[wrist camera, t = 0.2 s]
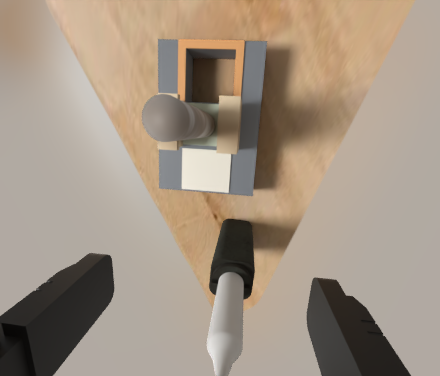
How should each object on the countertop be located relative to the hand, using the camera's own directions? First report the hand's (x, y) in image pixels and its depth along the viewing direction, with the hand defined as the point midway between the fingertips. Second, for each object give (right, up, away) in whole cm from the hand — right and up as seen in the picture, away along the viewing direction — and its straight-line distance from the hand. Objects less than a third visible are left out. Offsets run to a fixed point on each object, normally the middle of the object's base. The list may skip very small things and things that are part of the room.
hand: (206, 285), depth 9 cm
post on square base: (-1, +12, +23) cm, 26 cm away
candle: (+3, -4, +31) cm, 31 cm away
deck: (-1, +14, +27) cm, 30 cm away
